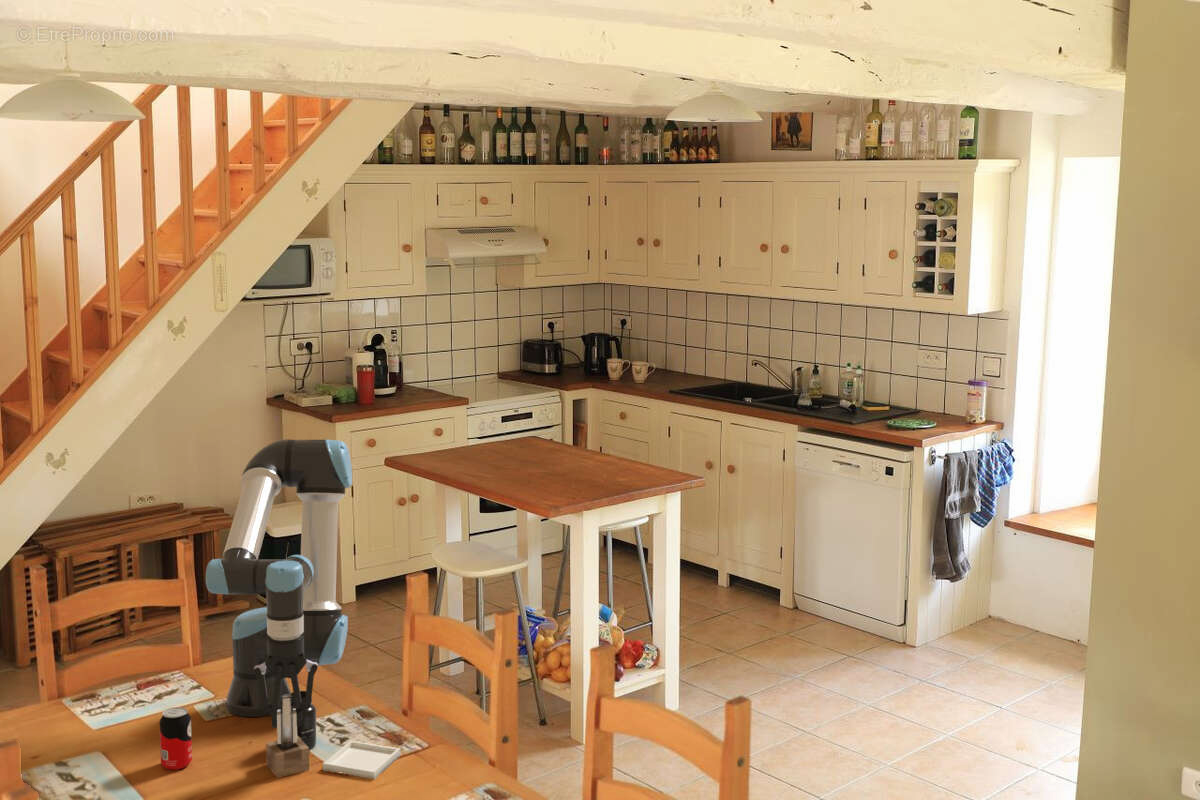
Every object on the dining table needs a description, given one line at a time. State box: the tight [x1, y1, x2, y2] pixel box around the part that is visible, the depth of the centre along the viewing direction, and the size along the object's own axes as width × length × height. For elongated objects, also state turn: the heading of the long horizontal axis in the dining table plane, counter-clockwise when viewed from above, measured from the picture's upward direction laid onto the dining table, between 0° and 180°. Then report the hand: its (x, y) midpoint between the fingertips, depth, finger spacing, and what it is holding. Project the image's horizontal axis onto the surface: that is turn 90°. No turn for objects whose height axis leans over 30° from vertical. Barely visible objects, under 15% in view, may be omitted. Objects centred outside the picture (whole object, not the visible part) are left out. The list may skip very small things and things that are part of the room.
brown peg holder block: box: [265, 736, 310, 778], centre depth 256 cm, size 7×7×5 cm
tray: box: [322, 740, 401, 780], centre depth 259 cm, size 12×12×2 cm
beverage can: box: [159, 706, 193, 771], centre depth 255 cm, size 6×6×12 cm
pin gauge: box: [280, 694, 294, 750], centre depth 255 cm, size 3×3×14 cm
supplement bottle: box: [291, 690, 317, 750], centre depth 266 cm, size 7×7×12 cm
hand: (287, 740), depth 255 cm, fingers closed on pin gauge, 2 cm apart
